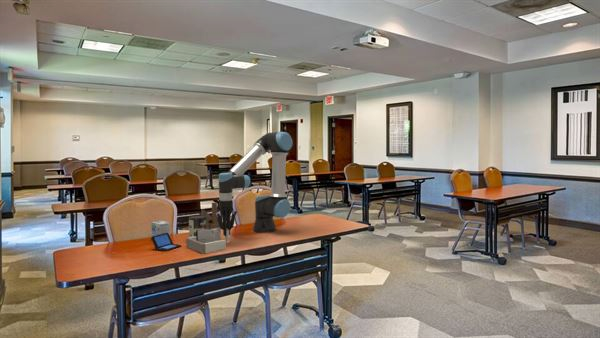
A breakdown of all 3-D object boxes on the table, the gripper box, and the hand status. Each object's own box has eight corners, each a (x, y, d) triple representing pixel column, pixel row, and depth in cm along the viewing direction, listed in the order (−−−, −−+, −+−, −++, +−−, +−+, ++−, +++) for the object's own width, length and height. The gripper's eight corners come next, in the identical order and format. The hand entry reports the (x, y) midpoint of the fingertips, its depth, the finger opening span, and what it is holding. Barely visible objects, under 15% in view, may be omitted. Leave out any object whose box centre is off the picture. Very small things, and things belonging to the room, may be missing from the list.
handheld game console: (165, 252, 206) (164, 238, 206) (150, 250, 211) (150, 236, 211) (182, 247, 217) (181, 233, 217) (168, 245, 222) (167, 232, 222)
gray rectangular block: (220, 244, 220) (220, 227, 219) (223, 247, 215) (222, 229, 214) (195, 247, 214) (195, 229, 213) (197, 250, 209) (197, 231, 209)
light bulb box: (151, 239, 236) (151, 221, 236) (161, 237, 241) (161, 220, 241) (160, 242, 229) (159, 223, 229) (170, 239, 234) (170, 222, 233)
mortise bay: (208, 242, 225) (208, 234, 225) (225, 249, 210) (225, 240, 209) (186, 246, 216) (186, 238, 216) (202, 253, 201) (202, 244, 201)
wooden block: (201, 230, 261) (201, 203, 260) (216, 227, 268) (215, 202, 267) (204, 231, 258) (203, 204, 257) (218, 228, 265) (218, 202, 264)
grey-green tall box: (210, 238, 236) (209, 215, 235) (201, 242, 226) (200, 218, 225) (195, 237, 239) (194, 214, 238) (185, 241, 229) (185, 217, 228)
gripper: (218, 201, 213) (220, 244, 214) (239, 199, 222) (240, 240, 223) (212, 200, 219) (213, 241, 220) (232, 198, 227) (233, 238, 228)
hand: (227, 241), depth 221 cm, fingers closed
